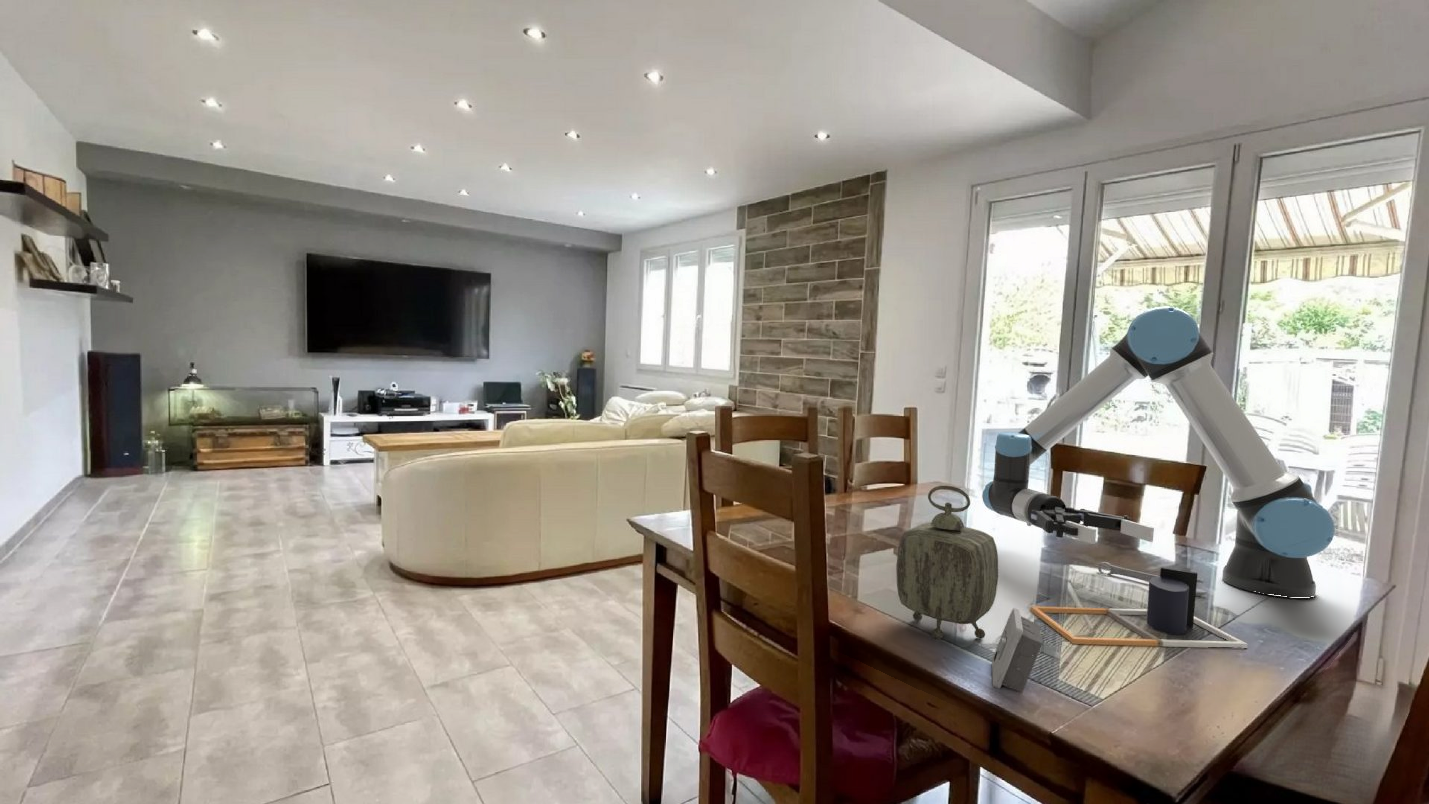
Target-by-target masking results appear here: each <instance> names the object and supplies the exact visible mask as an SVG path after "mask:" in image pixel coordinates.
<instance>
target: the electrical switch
mask: <svg viewBox="0 0 1429 804" xmlns="http://www.w3.org/2000/svg"><path fill="white" fill-rule="evenodd" d="M1020 610H1021V609H1018V608H1015V607H1013V608H1012V610H1011V612H1010V614H1009V616H1008V618H1007V621H1006V623H1005V625H1004V628H1003V630H1002V633H1001V636H1000V638H999V640H998V644H997V646H996V649H995V651H994V653H993V656H992V660H991V668H992V669H991V674H992V687H994V688H996V689H998V690H1000V689H1001V687H1002V685H1003V686H1005V687H1007V688H1009V689H1013V690H1015V691H1017V692H1018V693H1019V692H1020V693H1023V692H1024V690H1025V687H1026V684H1027V682H1028V680H1029V678H1030V675H1031V672H1032V670H1033V668H1034V664H1035V663H1036V660H1037V657H1038V655H1039V653H1040V651H1041V648H1042V646H1043V639H1042V636H1041V631H1040V626H1039V623H1038V622H1034V621H1032V620H1029V619H1028V618H1026V617H1025V616H1021V611H1020Z"/></svg>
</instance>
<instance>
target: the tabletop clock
mask: <svg viewBox="0 0 1429 804" xmlns="http://www.w3.org/2000/svg"><path fill="white" fill-rule="evenodd" d="M939 490H942V491H943V490H946V491H953V492H957V493H959V494H961V495H962V496H963V497H965V499H966V501H967V503H966V505H964V506H962V507H952V506H953V504H952V503H951V502H946V503H944V505H940V504H938V503H936V502H935V501H933V499H932V497H931V496H932V494H933V493H934V492H937V491H939ZM927 499H928V501H929V503H930V504H931V506H933V507H935V508H936V509H937V510H941V511H944V512H940V513H937V514H936V515H935V516H934V517H933V518H932V520H931V522H926V523H922V524H919V525H917V526H914V527H912V528H909V529H908V530H905V531H904V532H903V533H902V535H901V537H900V539H899V540H900V541H899V544H898V548H897V556H896V557H897V558H896V564H895V565H896V566H895V567H896V589H897V590H896V591H897V594H898V597H899V601H900V604H901V605H903V606H904V607H905V608H907V609H908V610H911V611H912V612H913V613H912V618H913V620H914V621H916V622H920V621H922V620H923V616H926V617H929V618H931V619H935V620H936V628H934V629H933V630H932V631H931V632H932V636H933V637H934V638H935V639H936V638H938V639H937V640H939V639H941V638H942V637H943V634H944V633H943V631H942V629H941V626H942V621H944V622H948V623H953V624H957V625H958V624H959V625H970V624H971V625H972V627H973V628H974V630H975V631H974V635H975V637H976V638H977V639H980V640H982V639H984V638H985V636H986V632H985V630H984V629H983V628H979V626H978V624H977V622H978V621H979V620H980V619H981V618H982V617H984V616H985V615H986V614H987V613H988V612H990V610H991V609H992V607H993V605H994V603H995V599H996V595H997V589H998V584H999V583H998V582H999V555H998V554H999V553H998V548H997V544H996V542H995V539H994V537H993V536H992V535H991V534H988V533H986V532H985V531H982V530H979V529H976V528H971V527H967V526H965V525H964V522H963V520H962V519H961V518H960V516H959V515H958V514H957V513H959V512H964V511H966V510H967V509H969V507H970V506H971V499H970V497H969V495H968V493H967V492H966V491H964V490H963V489H961V488H959V487H956V486H951V485H938V486H935V487H933V488H932V489H930V491H929V492H928V494H927ZM955 513H956V514H955Z"/></svg>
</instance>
